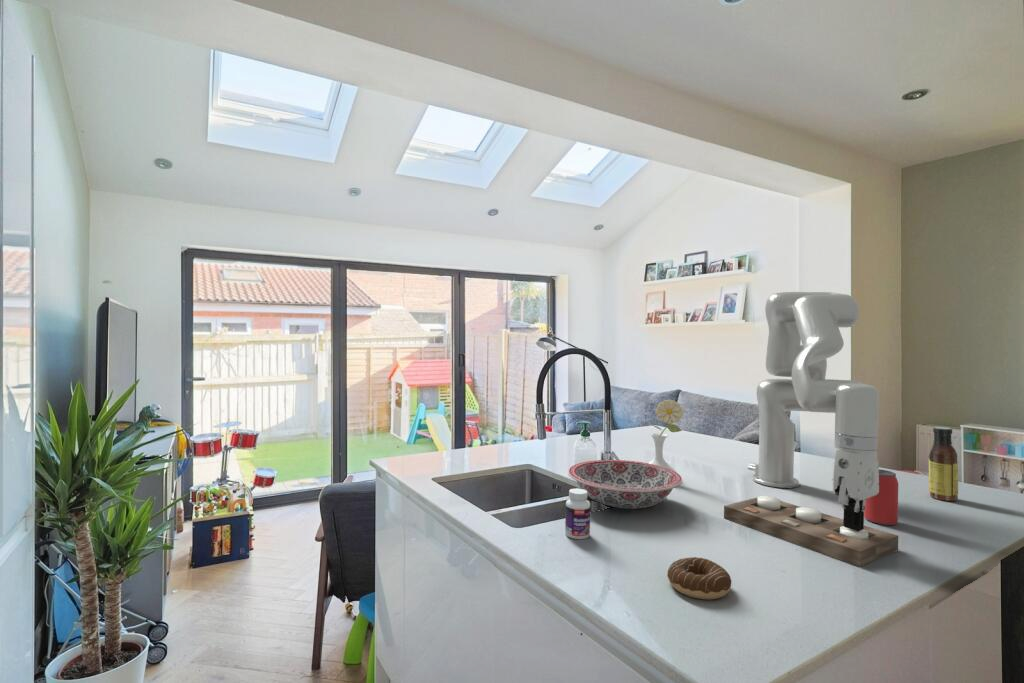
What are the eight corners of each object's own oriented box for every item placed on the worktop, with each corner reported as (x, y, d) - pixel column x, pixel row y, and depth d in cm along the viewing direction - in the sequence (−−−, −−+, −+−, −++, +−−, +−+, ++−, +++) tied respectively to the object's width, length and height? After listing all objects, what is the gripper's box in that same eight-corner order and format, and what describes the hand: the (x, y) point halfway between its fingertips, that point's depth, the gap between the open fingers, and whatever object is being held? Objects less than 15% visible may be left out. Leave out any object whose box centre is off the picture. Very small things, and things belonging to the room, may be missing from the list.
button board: (723, 517, 123) (724, 504, 123) (763, 507, 132) (763, 494, 132) (859, 566, 98) (860, 549, 98) (898, 550, 106) (898, 534, 106)
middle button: (791, 518, 116) (791, 509, 116) (803, 514, 119) (803, 506, 119) (813, 525, 112) (813, 516, 112) (825, 521, 115) (825, 512, 115)
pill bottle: (574, 541, 108) (575, 496, 108) (560, 532, 113) (561, 489, 113) (594, 537, 110) (595, 492, 110) (580, 528, 115) (581, 486, 115)
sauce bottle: (946, 495, 144) (948, 425, 144) (964, 502, 138) (965, 430, 138) (922, 494, 145) (923, 425, 144) (938, 501, 138) (940, 429, 138)
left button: (752, 505, 124) (753, 497, 124) (765, 502, 127) (765, 494, 127) (772, 512, 120) (772, 503, 120) (784, 508, 123) (784, 500, 123)
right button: (834, 538, 108) (835, 528, 108) (847, 533, 111) (847, 524, 111) (860, 546, 104) (861, 536, 104) (872, 541, 106) (873, 532, 106)
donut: (743, 603, 84) (744, 579, 84) (682, 605, 83) (682, 581, 83) (713, 573, 94) (713, 552, 94) (658, 574, 94) (658, 553, 94)
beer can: (893, 519, 124) (894, 470, 124) (901, 528, 118) (902, 477, 118) (861, 514, 127) (862, 467, 127) (867, 523, 121) (868, 473, 121)
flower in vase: (633, 480, 155) (635, 398, 155) (646, 472, 165) (648, 395, 164) (676, 487, 148) (678, 402, 147) (687, 479, 157) (689, 398, 157)
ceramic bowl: (597, 481, 154) (597, 454, 154) (695, 500, 137) (696, 470, 137) (547, 506, 130) (547, 475, 130) (658, 533, 113) (659, 498, 113)
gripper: (857, 450, 100) (854, 542, 100) (892, 442, 108) (890, 527, 108) (818, 442, 106) (815, 529, 107) (854, 435, 114) (852, 516, 115)
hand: (853, 528), depth 108 cm, fingers closed
